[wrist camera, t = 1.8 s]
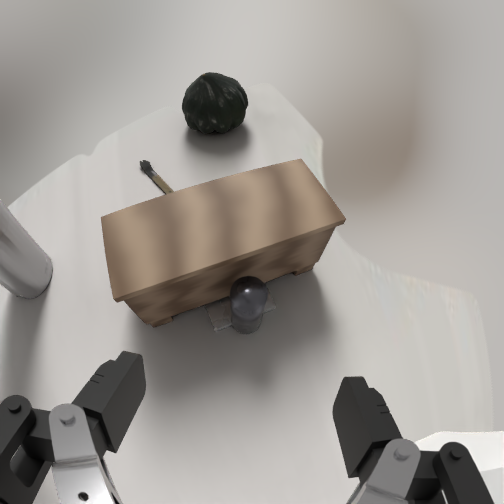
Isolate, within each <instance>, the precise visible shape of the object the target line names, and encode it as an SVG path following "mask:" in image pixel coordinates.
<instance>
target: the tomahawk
mask: <svg viewBox="0 0 504 504" xmlns="http://www.w3.org/2000/svg"><path fill="white" fill-rule="evenodd" d="M140 166H141V167H142V168H143V169H144V171H145V172H146V174H147V175H148V176H149V177H150V178H151V179H152V180H153V181H154V183H155V184H156V185H157V186H159V188H161V190H162V191H163V192H164V193H165V194H169V193H172V192H174V191H173V190H172V189H171V188H170V187H169V186H168V185H167V184H166V183H165V182H164V181H163V179H161V177H160V176H159V175H157V173H156V172H155V171H154V170H153V169H152V167H151V165H150V162H148V161H145V160H143V162H142V161H140Z"/></svg>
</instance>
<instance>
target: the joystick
mask: <svg viewBox="0 0 504 504" xmlns="http://www.w3.org/2000/svg"><path fill="white" fill-rule="evenodd" d="M205 307H206V309H207V312H208V315H209V317H210V320H211V322H212V325H213V327H214V330H215V332H216V331H219V330H221V329H224V328H227V327H229V326H233V328H234V329H235V330H236V331H237V332H239V333H242V334H250V333H253V332H254V331H256V330H257V329H258V327H259V325H260V322H261V318H262V315H263V313H265V312H268V311H270V310H273V309H275V308H276V305H275V303H274V301H273V299H272V297H271V295H270V293H269V291H268V289H267V287H266V285H265V283H264V282H263V281H262V280H260V279H259V278H257V277H254V276H244V277H241V278H239V279H237V280H236V281H235V282H234V283H233V285H232V287H231V290H230V296H227V297H224V298H222V299H219V300H216V301H213V302H210V303H208V304H205Z"/></svg>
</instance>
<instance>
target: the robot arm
mask: <svg viewBox="0 0 504 504" xmlns="http://www.w3.org/2000/svg"><path fill="white" fill-rule="evenodd" d="M51 275H52V262H51V259H50V258H49V256H48V255H47V254H46V253H45V252H44V251H43V250H42V249H41V247H40V246H39V245H38V244H37V243H36V242H35V241H34V240H33V238H32V237H31V236H30V235H29V234H28V233H27V231H26V230H25V229H24V228H23V227H22V226H21V224H20V223H19V222H18V221H17V219H16V218H15V217H14V216H13V215H12V213H11V212H10V211H9V209H8V208H7V207H6V206H5V205H4V203H3V202H2V201H1V199H0V284H1V285H2V286H3V287H5V288H6V289H7V290H9V291H10V292H11V293H13V294H14V295H15V296H17V297H18V296H22V297H24V298H27V299H31V298H34V297H37V296H38V295H40V294H41V293H42V292H43V291H44V290H45V288H46V287H47V285H48V283H49V281H50V279H51ZM145 390H146V381H145V373H144V365H143V358H142V355H140V354H135V353H131V352H127V351H123V352H122V353H121V354H120V355H119V357H118V358H117V359H116V361H113V360H109V361H107V362H106V363H104V364H102V365H101V366H100V367H99V368H98V369H97V371H96V372H95V374H94V375H93V376H92V377H91V378H90V381H88V382H87V384H86V385H85V386H84V387H83V389H82V390H81V391H80V393H79V394H78V395H77V397H76V398H75V399H74V401H73V402H72V403H71V404H61V405H58V406H56V407H55V408H54V409H53V410H52V411H46V410H40V409H34V408H32V406H31V404H30V402H29V401H28V399H26V398H25V397H23V396H20V395H13V396H9V397H7V398H6V399H4V400H3V401H2V403H1V404H0V504H32V503H33V501H34V499H35V497H36V495H37V493H38V491H39V489H40V487H41V485H42V483H43V481H44V479H45V477H46V475H47V473H48V471H49V469H50V467H51V465H52V473H53V477H54V482H55V486H56V490H57V494H58V497H59V501H60V504H123V503H122V501H121V499H120V497H119V495H118V493H117V490H116V488H115V486H114V483H113V481H112V478H111V476H110V473H109V471H108V468H107V465H106V463H105V460H104V458H103V456H104V454H105V452H106V450H108V451H111V452H114V453H117V450H118V448H119V446H120V444H121V442H122V440H123V438H124V436H125V434H126V432H127V430H128V428H129V426H130V424H131V422H132V420H133V417H134V415H135V413H136V411H137V409H138V407H139V405H140V403H141V401H142V399H143V397H144V395H145ZM333 419H334V423H335V427H336V430H337V434H338V438H339V442H340V446H341V450H342V454H343V458H344V462H345V466H346V470H347V474H348V478H354V477H359V480H360V483H359V484H358V485H357V487H356V489H355V490H354V492H353V493H352V495H351V497H350V498H349V500H348V501H347V503H346V504H446V502H445V499H444V496H443V493H442V490H443V492H444V494H445V497H446V500H447V502H448V504H494V502H493V499H492V497H491V495H490V493H489V491H488V489H487V486H486V484H485V482H484V480H483V478H482V476H481V474H480V472H479V470H478V468H477V466H476V464H475V462H474V460H473V458H472V456H471V454H470V453H469V451H468V449H467V448H466V447H465V446H464V445H463V444H461V443H458V442H448V443H446V444H444V445H443V446H442V447H441V449H440V450H439V451H422V450H419V448H418V446H417V445H416V444H415V443H413V442H412V441H410V440H407V439H403V438H402V436H401V434H400V432H399V429H398V427H397V425H396V423H395V421H394V419H393V417H392V415H391V413H390V411H389V409H388V407H387V406H386V403H385V401H384V399H383V397H382V395H381V394H380V393H379V392H378V391H376V390H375V389H374V388H369V387H368V385H367V383H366V381H365V379H364V377H362V376H360V377H344V378H343V380H342V383H341V386H340V388H339V391H338V394H337V397H336V399H335V402H334V405H333ZM20 445H21V446H20ZM19 446H20V447H19ZM18 447H19V449H18ZM17 449H18V451H17V452H16V450H17ZM15 452H16V454H15V455H14V453H15ZM13 455H14V457H13ZM12 457H13V459H12V460H11V458H12ZM10 461H11V462H10ZM53 462H54V463H53Z"/></svg>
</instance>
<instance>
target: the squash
mask: <svg viewBox="0 0 504 504" xmlns="http://www.w3.org/2000/svg"><path fill="white" fill-rule="evenodd" d="M247 106H248V99H247V95H246V93H245V91H244V89H243V88H242V87H241V85H240V84H239V83H238V81H236V80H235V79H233V78H230V77H227V76H224V75H222V74H218V73H210V72H209V73H205V74H203V75H201V76H200V77H199V78H197V79H196V80H195V81H194V82H193V83H192V84H191V85H190V86H189V87H188V89H187V90H186V93H185V96H184V99H183V103H182V110H183V113H184V114H185V120H186V122H187V124H188V126H189V127H190V128H192V129H194V130H200V131H201V132H202V133H204V134H206V133H211V132H213V131H214V129H215V130H216V131H217V132H219V133H225V132H227V131H228V130H229V128H235V127H237V126H239V125H240V124H241V123H242V122H243V120H244V118H245V113H246V108H247Z"/></svg>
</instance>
